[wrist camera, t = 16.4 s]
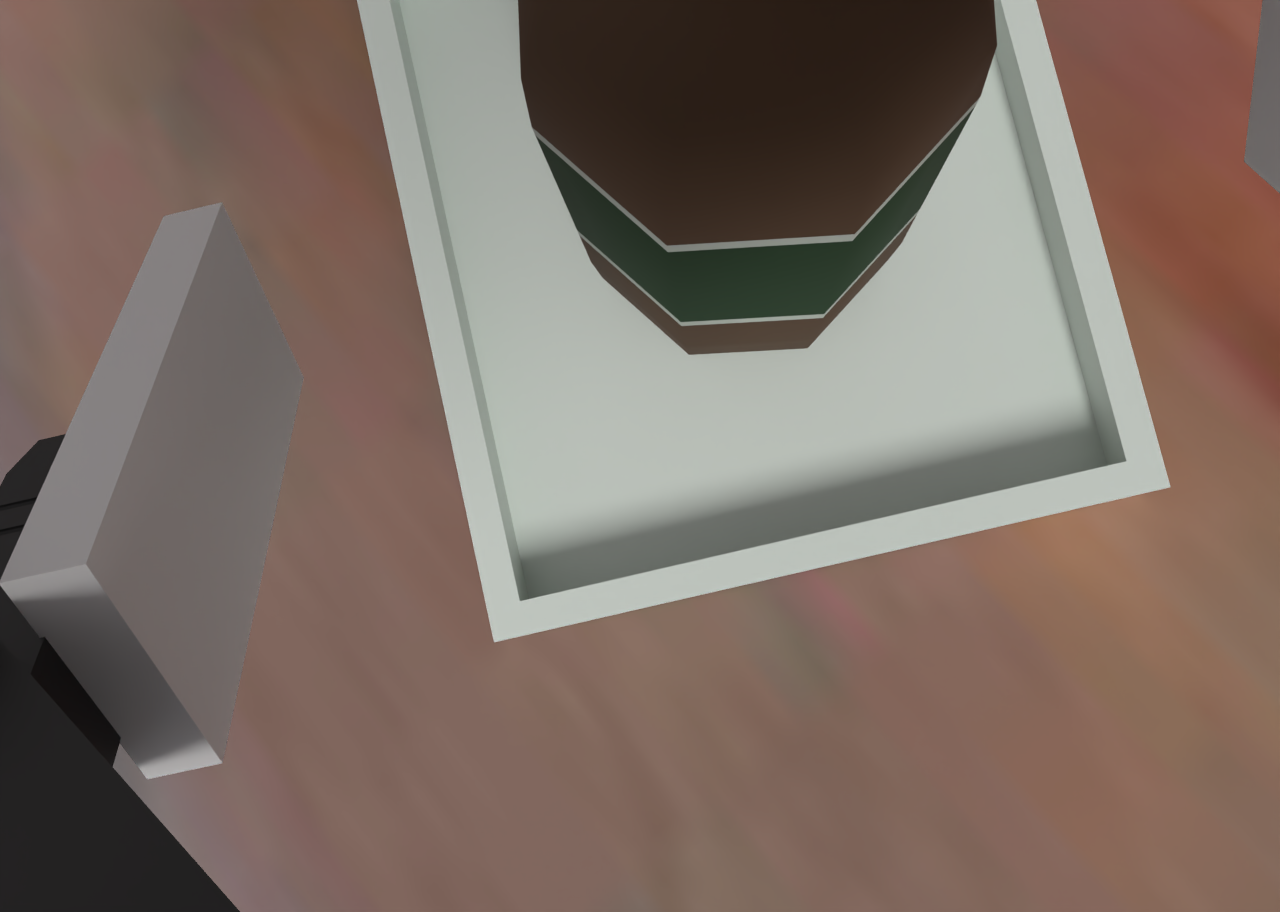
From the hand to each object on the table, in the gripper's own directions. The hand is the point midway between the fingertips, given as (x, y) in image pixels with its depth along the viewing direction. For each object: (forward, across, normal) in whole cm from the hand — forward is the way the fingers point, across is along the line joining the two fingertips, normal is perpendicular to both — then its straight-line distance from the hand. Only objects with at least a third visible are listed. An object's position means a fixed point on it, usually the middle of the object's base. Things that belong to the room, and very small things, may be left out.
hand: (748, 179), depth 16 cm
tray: (+14, +1, -8) cm, 16 cm away
